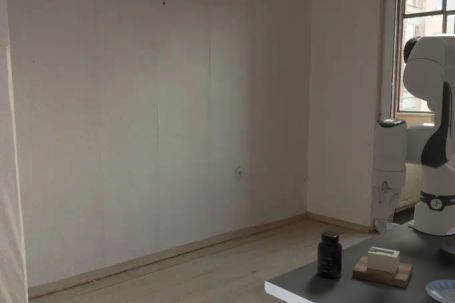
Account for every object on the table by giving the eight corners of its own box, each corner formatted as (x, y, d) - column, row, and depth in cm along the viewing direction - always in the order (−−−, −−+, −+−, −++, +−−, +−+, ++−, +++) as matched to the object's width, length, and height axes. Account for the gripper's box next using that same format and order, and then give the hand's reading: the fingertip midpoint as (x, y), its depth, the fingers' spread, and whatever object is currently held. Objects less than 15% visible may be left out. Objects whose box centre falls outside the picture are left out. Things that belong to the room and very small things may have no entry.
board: (362, 261, 137) (362, 255, 136) (412, 271, 130) (412, 264, 129) (352, 276, 126) (352, 269, 126) (405, 287, 119) (406, 280, 119)
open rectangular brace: (398, 266, 128) (399, 250, 127) (395, 273, 124) (396, 256, 123) (371, 261, 132) (372, 245, 131) (367, 267, 127) (367, 251, 127)
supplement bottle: (322, 267, 132) (324, 228, 130) (345, 273, 128) (347, 232, 126) (312, 275, 127) (314, 234, 125) (335, 282, 123) (337, 239, 121)
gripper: (393, 188, 113) (390, 241, 116) (406, 172, 131) (403, 218, 133) (367, 185, 117) (365, 236, 119) (383, 170, 134) (381, 215, 136)
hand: (385, 227), depth 126 cm, fingers open, 8 cm apart
